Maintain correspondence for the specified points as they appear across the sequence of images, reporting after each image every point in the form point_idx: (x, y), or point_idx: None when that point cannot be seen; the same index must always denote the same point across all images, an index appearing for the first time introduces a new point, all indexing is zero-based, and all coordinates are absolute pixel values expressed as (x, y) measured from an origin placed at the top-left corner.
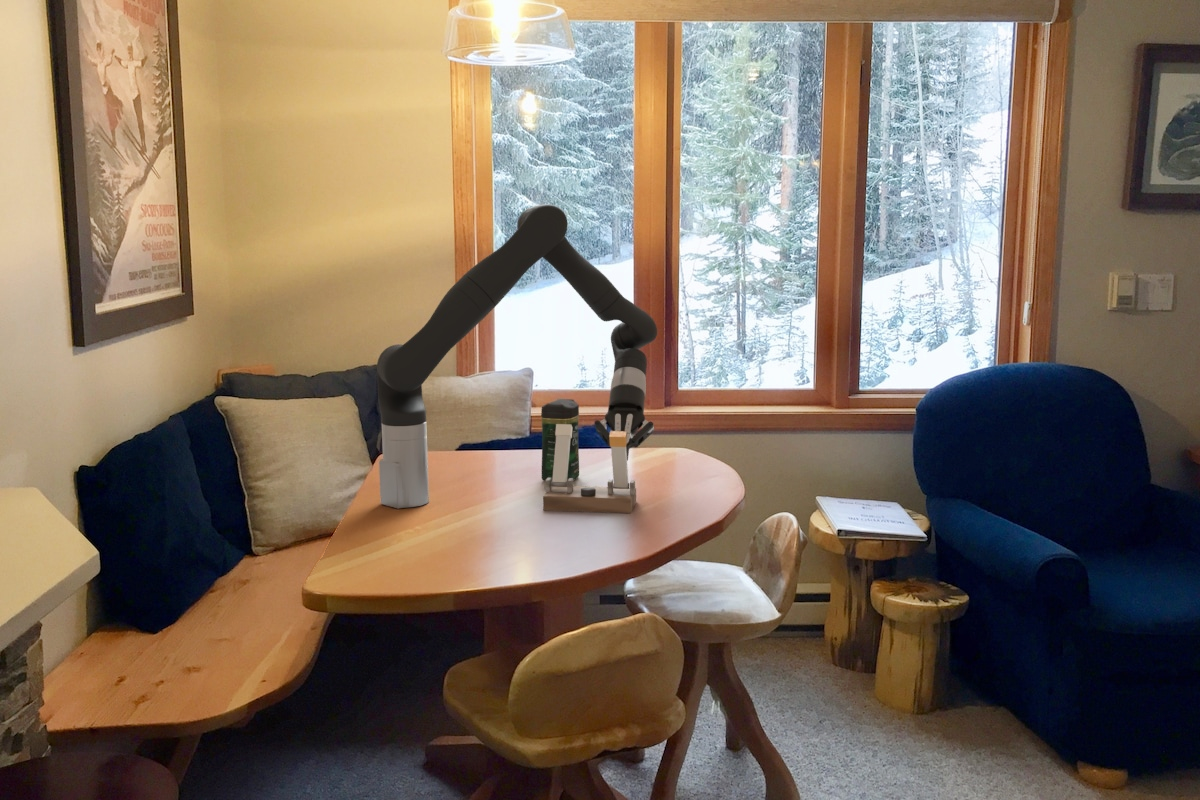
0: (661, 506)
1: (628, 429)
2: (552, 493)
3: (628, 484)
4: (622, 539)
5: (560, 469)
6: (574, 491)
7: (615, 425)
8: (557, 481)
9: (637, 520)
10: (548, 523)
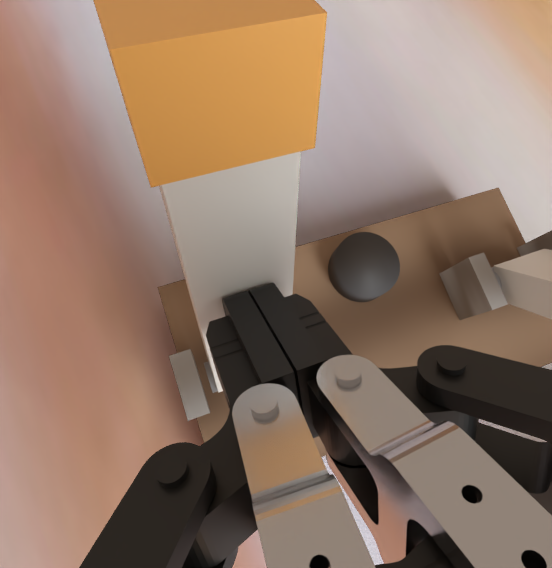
0: (79, 467)
1: (293, 530)
2: (494, 234)
3: (206, 365)
4: (66, 17)
5: None
6: (440, 299)
7: (535, 511)
8: (526, 256)
9: (101, 224)
10: (363, 90)
